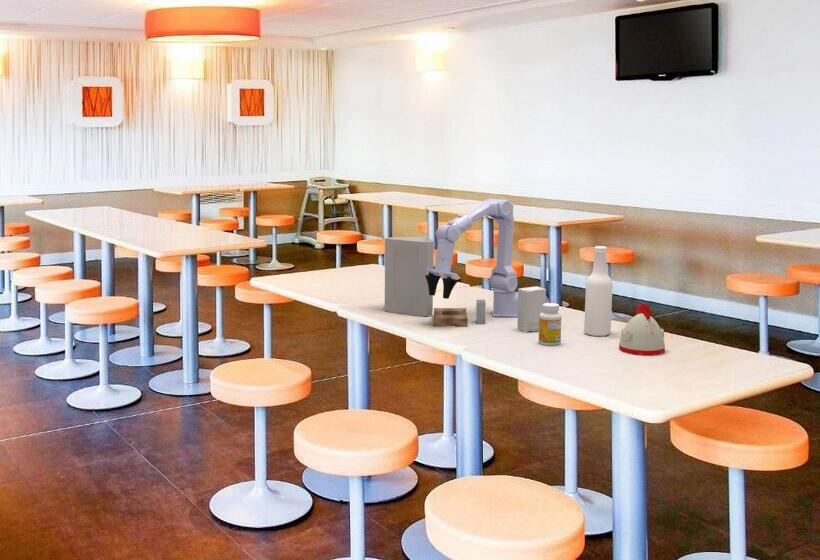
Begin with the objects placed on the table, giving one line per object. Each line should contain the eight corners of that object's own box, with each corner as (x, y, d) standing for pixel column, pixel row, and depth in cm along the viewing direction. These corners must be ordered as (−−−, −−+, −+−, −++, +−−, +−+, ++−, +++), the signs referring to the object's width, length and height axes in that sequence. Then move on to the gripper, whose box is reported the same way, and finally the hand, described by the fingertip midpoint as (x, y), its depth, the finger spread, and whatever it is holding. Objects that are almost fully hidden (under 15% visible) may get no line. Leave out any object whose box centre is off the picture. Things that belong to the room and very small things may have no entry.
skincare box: (536, 327, 305) (537, 285, 303) (546, 330, 300) (547, 288, 297) (516, 329, 302) (517, 287, 299) (525, 332, 296) (526, 290, 294)
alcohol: (579, 332, 298) (582, 245, 293) (601, 330, 301) (604, 244, 296) (593, 337, 289) (596, 248, 284) (615, 335, 293) (619, 247, 288)
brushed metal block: (484, 321, 314) (484, 299, 313) (485, 324, 310) (485, 302, 308) (476, 321, 315) (476, 299, 313) (476, 324, 310) (477, 302, 308)
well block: (465, 316, 323) (465, 308, 323) (467, 326, 305) (467, 318, 305) (433, 315, 323) (433, 308, 323) (433, 326, 306) (433, 318, 305)
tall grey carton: (446, 310, 334) (447, 238, 329) (426, 317, 321) (427, 242, 317) (404, 305, 344) (404, 235, 339) (383, 311, 331) (384, 238, 326)
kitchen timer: (633, 357, 265) (635, 309, 262) (611, 346, 278) (613, 300, 275) (673, 354, 268) (675, 306, 266) (649, 343, 281) (651, 298, 279)
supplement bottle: (536, 340, 285) (537, 302, 283) (557, 340, 286) (558, 302, 283) (541, 345, 278) (542, 306, 276) (563, 345, 279) (564, 306, 276)
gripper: (422, 255, 307) (417, 293, 308) (449, 260, 295) (443, 299, 296) (437, 257, 311) (432, 294, 312) (464, 261, 300) (458, 300, 301)
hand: (438, 296), depth 304 cm, fingers open, 7 cm apart
